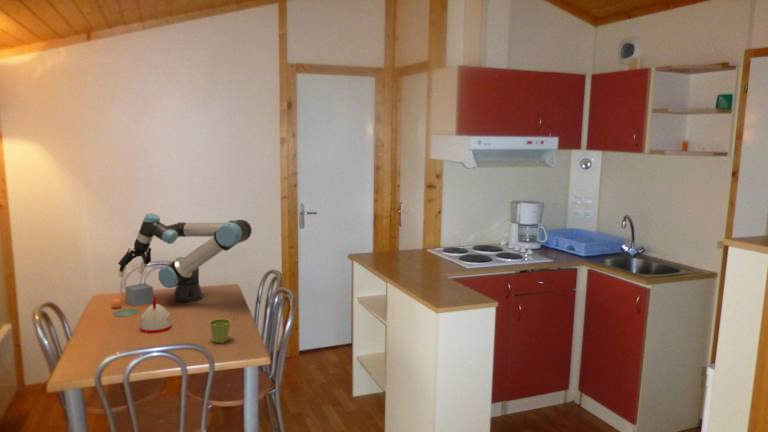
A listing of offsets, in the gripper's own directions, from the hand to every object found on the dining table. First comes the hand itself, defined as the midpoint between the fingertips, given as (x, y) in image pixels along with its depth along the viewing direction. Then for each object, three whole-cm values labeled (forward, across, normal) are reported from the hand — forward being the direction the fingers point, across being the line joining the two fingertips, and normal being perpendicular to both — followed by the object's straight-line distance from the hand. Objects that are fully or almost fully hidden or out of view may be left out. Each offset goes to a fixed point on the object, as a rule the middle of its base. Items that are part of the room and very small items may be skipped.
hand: (130, 274), depth 310 cm
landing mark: (+8, +16, +20) cm, 27 cm away
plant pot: (-19, +26, +83) cm, 89 cm away
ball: (+11, +12, +8) cm, 18 cm away
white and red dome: (-3, +27, +48) cm, 55 cm away
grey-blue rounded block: (+11, -1, +12) cm, 16 cm away
